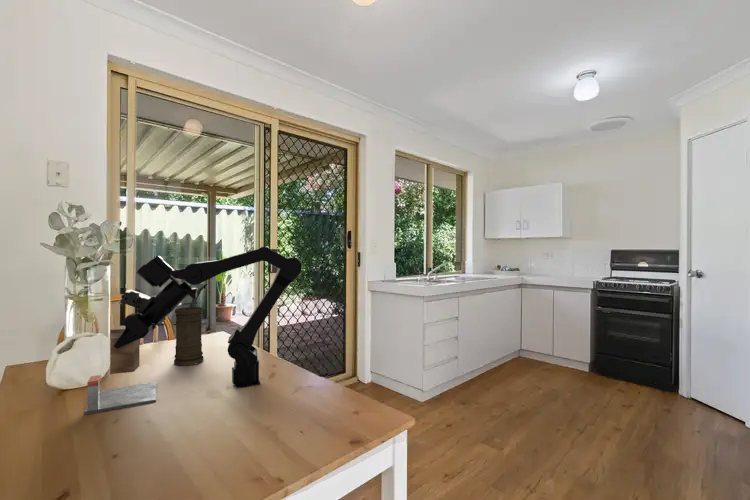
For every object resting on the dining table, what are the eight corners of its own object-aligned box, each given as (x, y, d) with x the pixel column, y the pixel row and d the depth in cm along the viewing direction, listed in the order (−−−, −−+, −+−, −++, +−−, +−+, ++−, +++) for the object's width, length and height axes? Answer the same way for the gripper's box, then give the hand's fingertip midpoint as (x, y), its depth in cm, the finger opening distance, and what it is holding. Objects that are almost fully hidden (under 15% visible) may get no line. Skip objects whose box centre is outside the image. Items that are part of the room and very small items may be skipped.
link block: (139, 365, 96) (139, 324, 96) (133, 371, 91) (133, 328, 91) (117, 367, 94) (117, 325, 94) (109, 374, 89) (109, 330, 89)
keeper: (156, 383, 101) (156, 358, 101) (155, 401, 89) (155, 372, 89) (94, 393, 94) (94, 366, 94) (84, 414, 82) (84, 383, 82)
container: (195, 366, 117) (195, 310, 117) (167, 366, 117) (168, 310, 117) (208, 357, 126) (208, 306, 126) (183, 357, 126) (183, 306, 126)
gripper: (152, 276, 103) (106, 317, 99) (131, 281, 85) (75, 331, 81) (183, 302, 105) (139, 343, 102) (169, 313, 88) (116, 363, 84)
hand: (119, 344), depth 92 cm, fingers closed on link block, 5 cm apart
